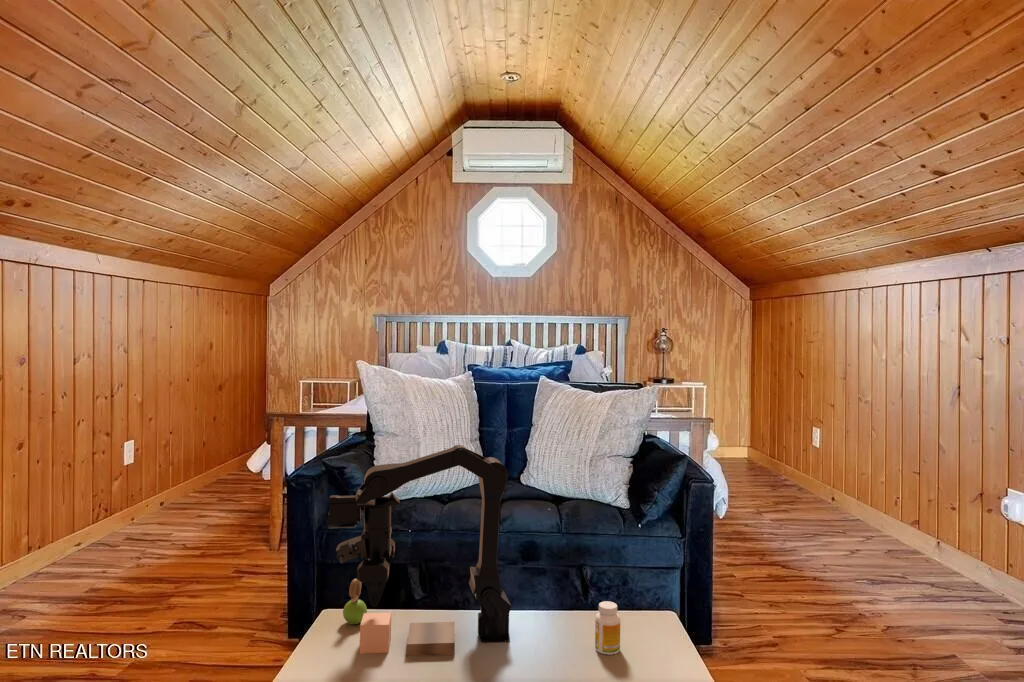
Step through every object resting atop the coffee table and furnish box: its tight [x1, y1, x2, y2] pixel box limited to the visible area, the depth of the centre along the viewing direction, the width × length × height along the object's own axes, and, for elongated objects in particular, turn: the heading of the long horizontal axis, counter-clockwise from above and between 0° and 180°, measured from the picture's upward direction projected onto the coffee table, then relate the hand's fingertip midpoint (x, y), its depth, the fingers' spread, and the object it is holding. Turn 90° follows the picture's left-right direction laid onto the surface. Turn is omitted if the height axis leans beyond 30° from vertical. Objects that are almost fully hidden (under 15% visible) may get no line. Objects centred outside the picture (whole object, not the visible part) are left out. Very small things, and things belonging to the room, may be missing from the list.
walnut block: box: [406, 621, 456, 657], centre depth 141 cm, size 10×10×3 cm
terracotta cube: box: [359, 612, 392, 654], centre depth 139 cm, size 6×6×6 cm
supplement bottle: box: [594, 600, 621, 656], centre depth 139 cm, size 5×5×10 cm
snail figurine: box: [342, 578, 368, 625], centre depth 151 cm, size 5×6×12 cm
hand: (376, 597), depth 139 cm, fingers open, 9 cm apart
